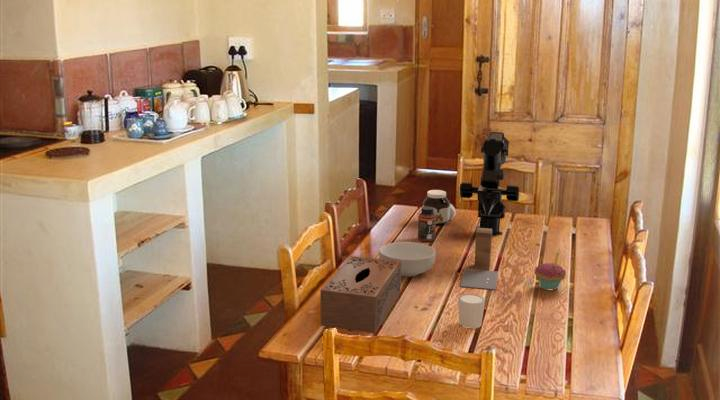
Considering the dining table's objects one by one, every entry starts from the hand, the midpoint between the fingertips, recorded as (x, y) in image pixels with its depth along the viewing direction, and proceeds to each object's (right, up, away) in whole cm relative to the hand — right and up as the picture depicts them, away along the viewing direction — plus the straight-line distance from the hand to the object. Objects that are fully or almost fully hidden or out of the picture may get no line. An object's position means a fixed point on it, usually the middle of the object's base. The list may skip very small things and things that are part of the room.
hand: (487, 214), depth 235 cm
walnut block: (-3, -16, -7) cm, 18 cm away
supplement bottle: (-18, -9, +18) cm, 27 cm away
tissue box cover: (-40, -25, -37) cm, 59 cm away
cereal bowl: (-26, -17, -11) cm, 33 cm away
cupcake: (+14, -21, -22) cm, 33 cm away
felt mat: (-5, -19, -16) cm, 25 cm away
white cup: (-12, -27, -45) cm, 54 cm away
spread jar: (-11, -3, +38) cm, 40 cm away
